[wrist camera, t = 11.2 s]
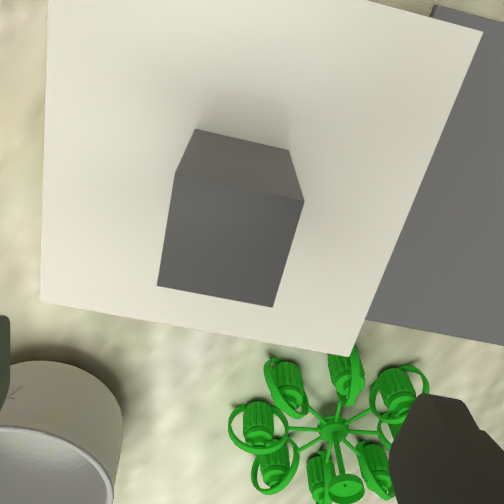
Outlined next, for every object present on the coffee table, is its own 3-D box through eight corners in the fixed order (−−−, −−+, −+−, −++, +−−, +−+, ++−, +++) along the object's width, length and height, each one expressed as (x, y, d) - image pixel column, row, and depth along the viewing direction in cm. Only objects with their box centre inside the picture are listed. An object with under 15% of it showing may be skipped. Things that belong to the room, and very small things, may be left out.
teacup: (30, 310, 30) (-37, 401, 23) (167, 388, 34) (146, 490, 26) (-57, 429, 35) (-134, 535, 28) (71, 488, 38) (31, 596, 31)
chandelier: (236, 319, 31) (233, 395, 25) (454, 333, 32) (504, 410, 26) (223, 470, 38) (219, 559, 32) (404, 479, 39) (433, 567, 32)
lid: (471, 31, 18) (586, 40, 12) (345, 345, 26) (377, 452, 19) (60, -81, 17) (-50, -137, 10) (47, 290, 24) (-24, 389, 18)
